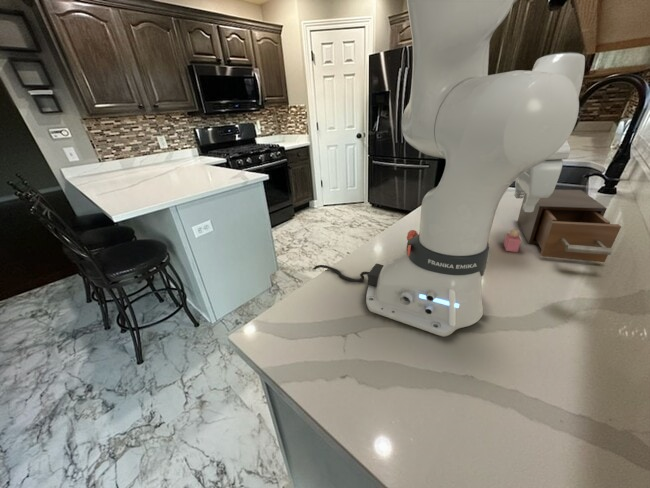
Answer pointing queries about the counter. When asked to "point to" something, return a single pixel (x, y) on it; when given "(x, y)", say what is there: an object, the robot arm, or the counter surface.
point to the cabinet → (557, 202)
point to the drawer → (575, 235)
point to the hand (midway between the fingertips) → (522, 203)
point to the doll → (512, 240)
